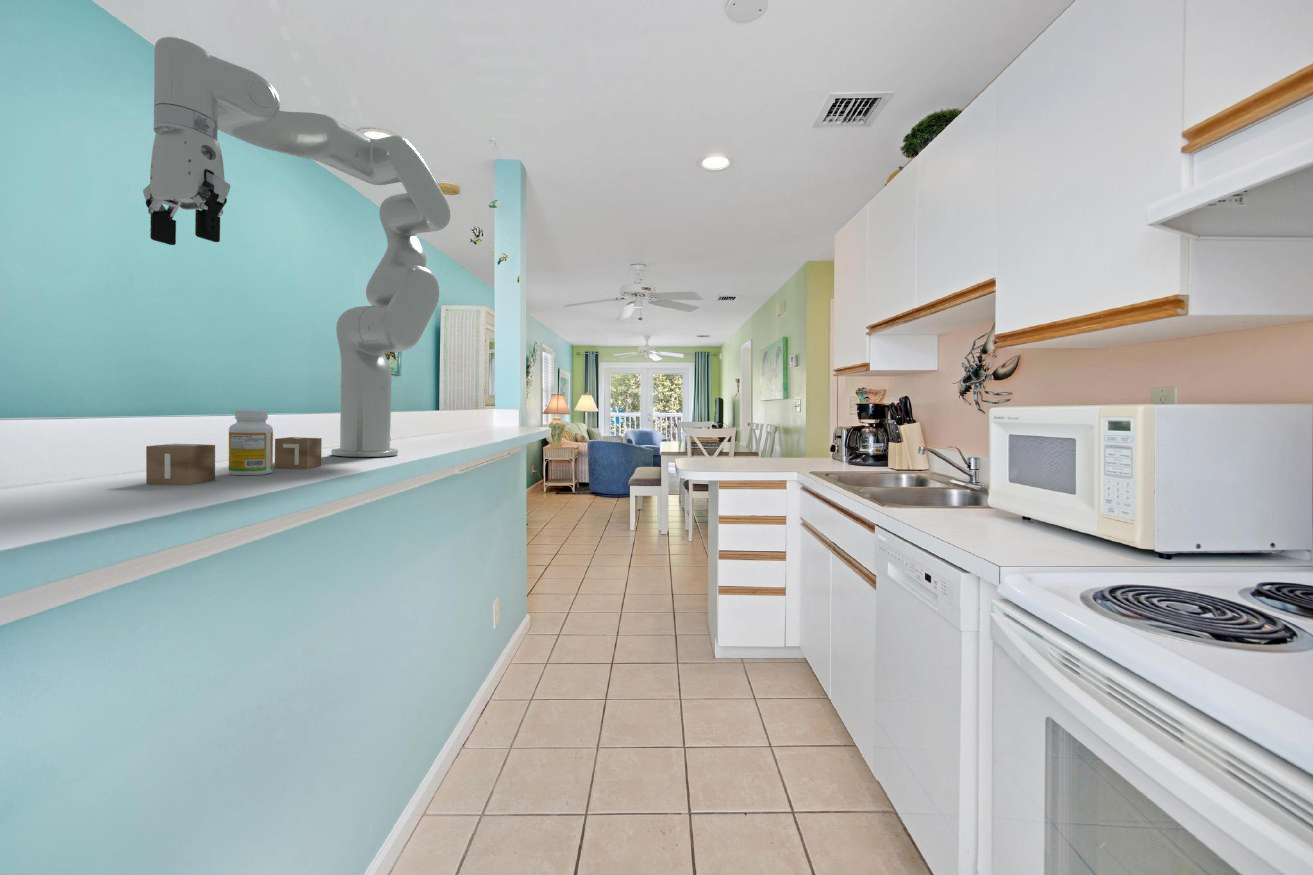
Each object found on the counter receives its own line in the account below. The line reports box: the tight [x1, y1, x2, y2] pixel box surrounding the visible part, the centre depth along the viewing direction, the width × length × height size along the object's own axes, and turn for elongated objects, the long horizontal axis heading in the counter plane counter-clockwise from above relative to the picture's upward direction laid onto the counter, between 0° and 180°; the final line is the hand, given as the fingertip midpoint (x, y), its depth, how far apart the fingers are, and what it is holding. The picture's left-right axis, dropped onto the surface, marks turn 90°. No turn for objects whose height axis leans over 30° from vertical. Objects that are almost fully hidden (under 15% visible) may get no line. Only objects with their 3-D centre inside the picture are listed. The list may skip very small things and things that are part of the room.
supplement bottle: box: [228, 409, 274, 476], centre depth 83 cm, size 5×5×10 cm
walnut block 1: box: [145, 443, 216, 486], centre depth 73 cm, size 5×5×5 cm
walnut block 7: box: [274, 436, 323, 470], centre depth 93 cm, size 5×5×5 cm
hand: (185, 241), depth 85 cm, fingers open, 9 cm apart
